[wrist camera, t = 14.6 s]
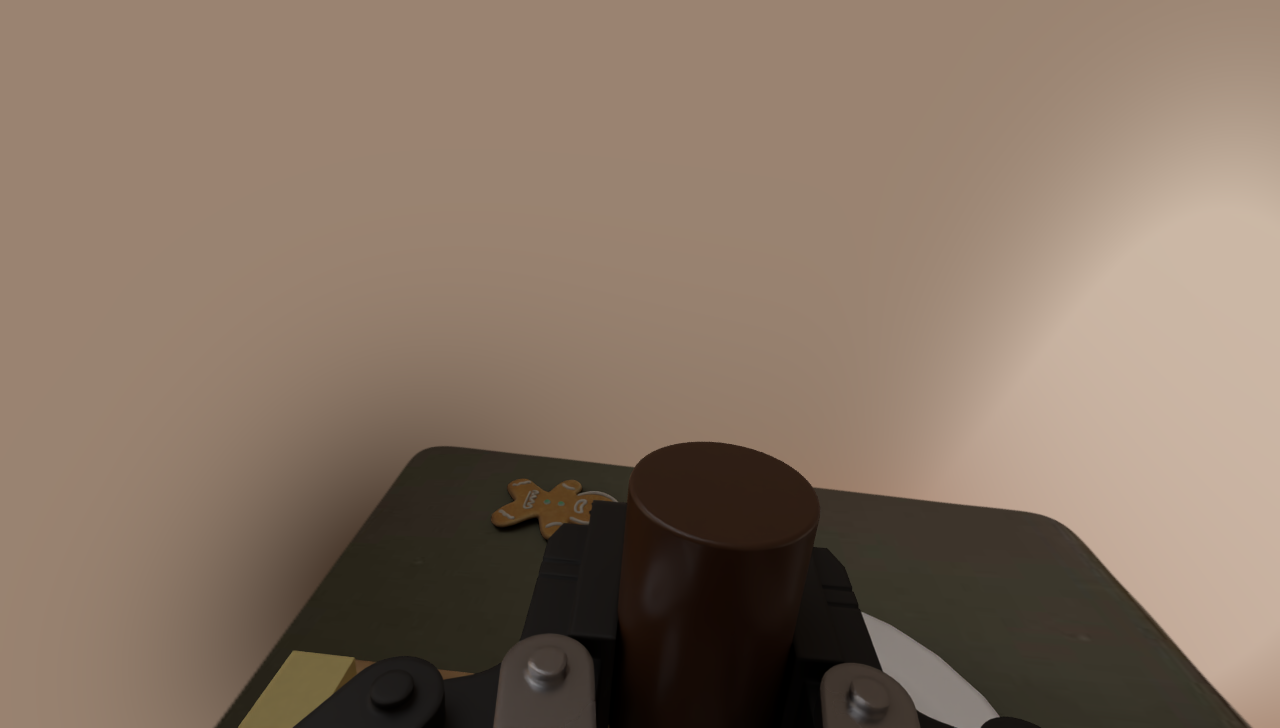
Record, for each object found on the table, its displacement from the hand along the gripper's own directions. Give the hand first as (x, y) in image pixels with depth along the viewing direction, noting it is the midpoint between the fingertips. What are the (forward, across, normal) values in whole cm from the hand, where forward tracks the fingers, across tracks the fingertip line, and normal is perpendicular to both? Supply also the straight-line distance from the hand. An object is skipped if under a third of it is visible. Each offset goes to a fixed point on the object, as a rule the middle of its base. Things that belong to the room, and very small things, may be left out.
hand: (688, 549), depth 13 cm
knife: (-3, 0, +12) cm, 12 cm away
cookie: (+34, +7, +24) cm, 43 cm away
